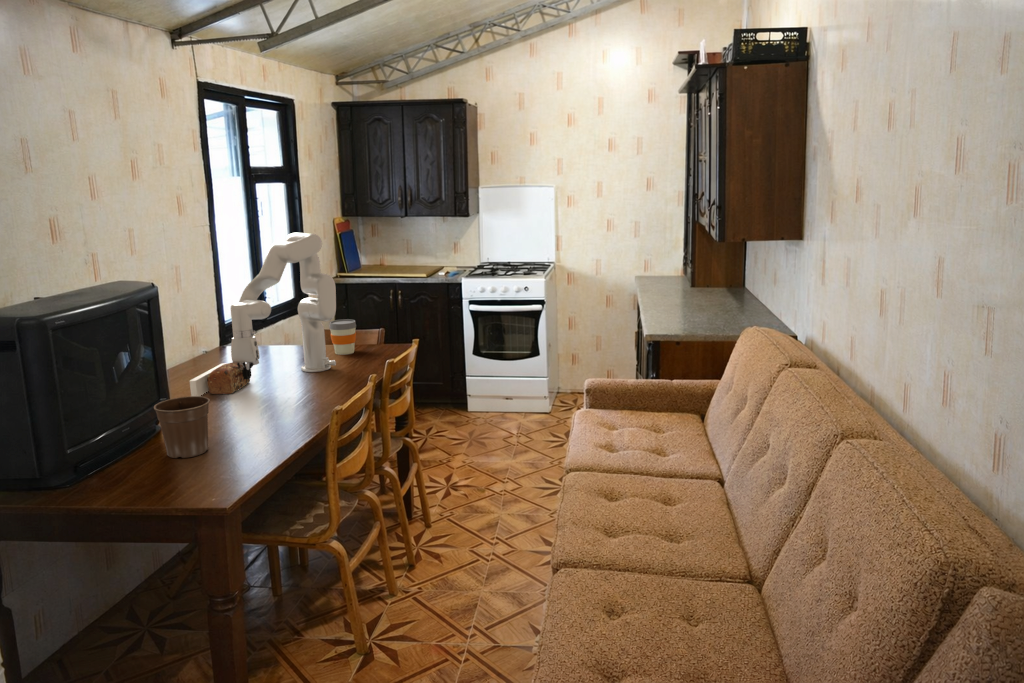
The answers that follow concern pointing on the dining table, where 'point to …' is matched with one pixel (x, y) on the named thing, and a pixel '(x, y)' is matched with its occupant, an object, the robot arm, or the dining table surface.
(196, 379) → the board
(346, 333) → the reusable coffee cup
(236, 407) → the dining table surface
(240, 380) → the bread
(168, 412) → the plant pot
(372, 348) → the dining table surface
